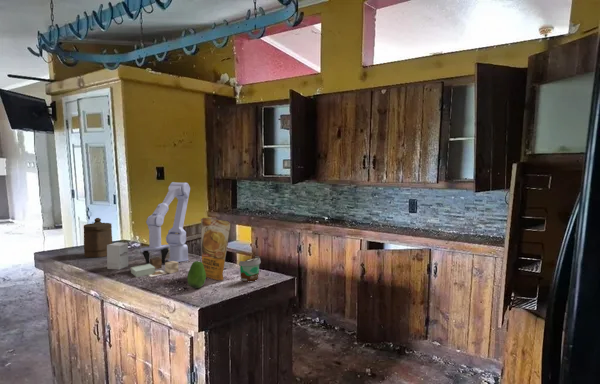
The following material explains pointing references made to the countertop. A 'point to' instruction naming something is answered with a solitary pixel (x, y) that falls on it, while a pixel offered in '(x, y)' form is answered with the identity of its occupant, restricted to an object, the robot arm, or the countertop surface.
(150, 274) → the card
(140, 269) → the plinth
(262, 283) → the countertop surface
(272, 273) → the countertop surface
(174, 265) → the beech block
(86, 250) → the wooden container
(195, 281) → the avocado
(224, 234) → the pancake mix bag
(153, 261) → the walnut block
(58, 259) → the countertop surface
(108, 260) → the supplement box
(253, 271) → the food container
